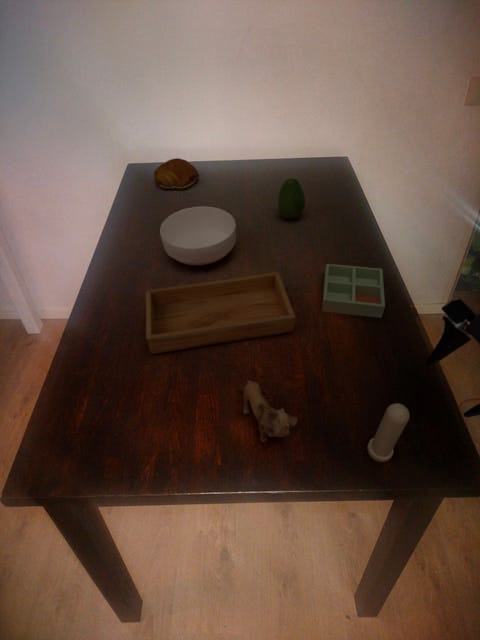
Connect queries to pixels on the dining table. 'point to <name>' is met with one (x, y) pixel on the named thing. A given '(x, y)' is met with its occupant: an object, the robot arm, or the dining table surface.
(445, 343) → the robot arm
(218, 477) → the dining table surface
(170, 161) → the croissant
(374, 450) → the beige rounded cylinder
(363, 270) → the grid
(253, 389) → the lion figurine
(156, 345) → the tray
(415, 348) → the dining table surface
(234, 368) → the dining table surface
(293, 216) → the fruit
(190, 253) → the bowl
